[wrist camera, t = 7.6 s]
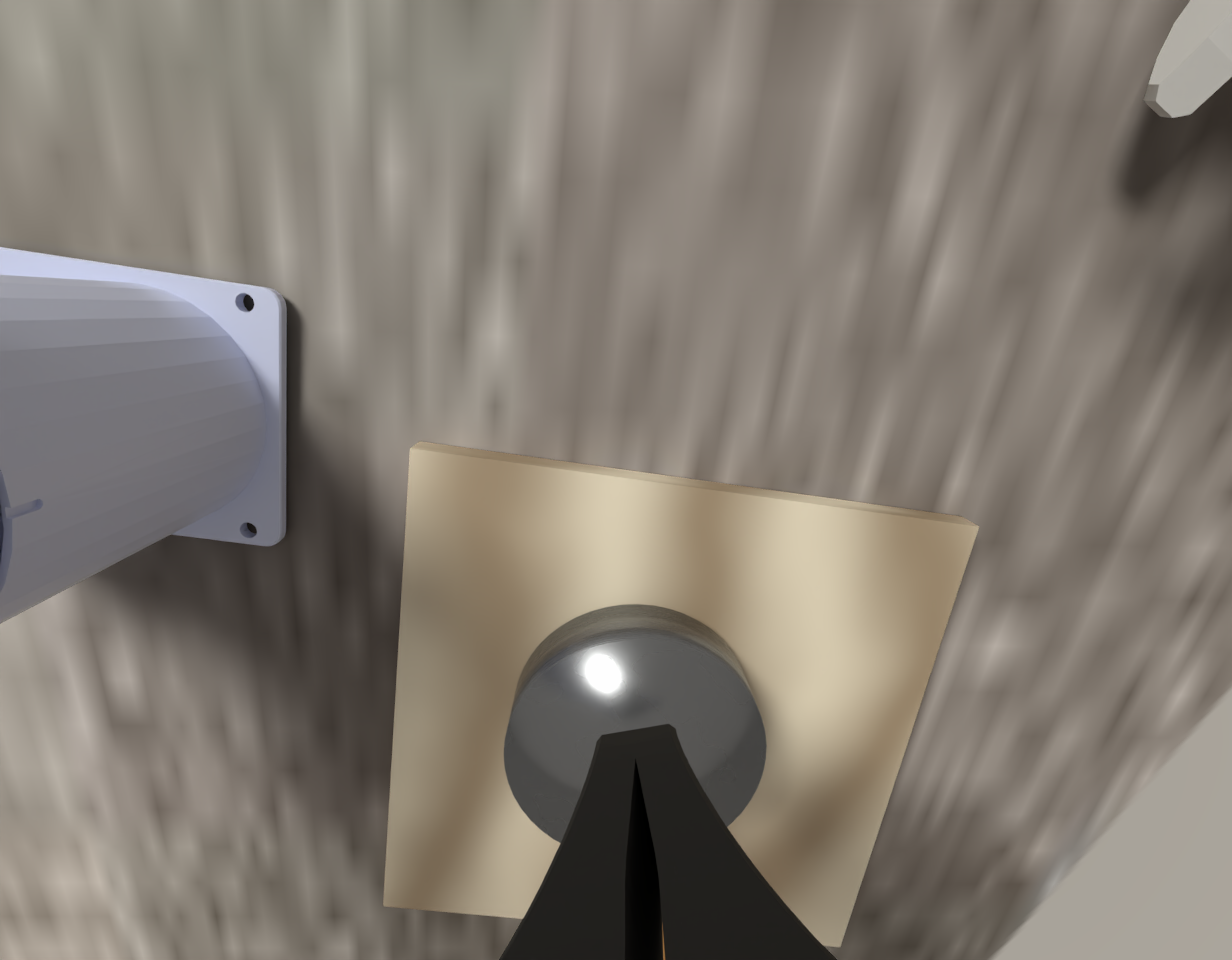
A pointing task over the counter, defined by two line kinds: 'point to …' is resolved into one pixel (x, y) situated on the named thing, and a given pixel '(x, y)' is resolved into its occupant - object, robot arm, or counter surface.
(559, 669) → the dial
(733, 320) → the counter surface
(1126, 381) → the counter surface
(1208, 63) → the wrench
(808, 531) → the panel
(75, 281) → the robot arm
